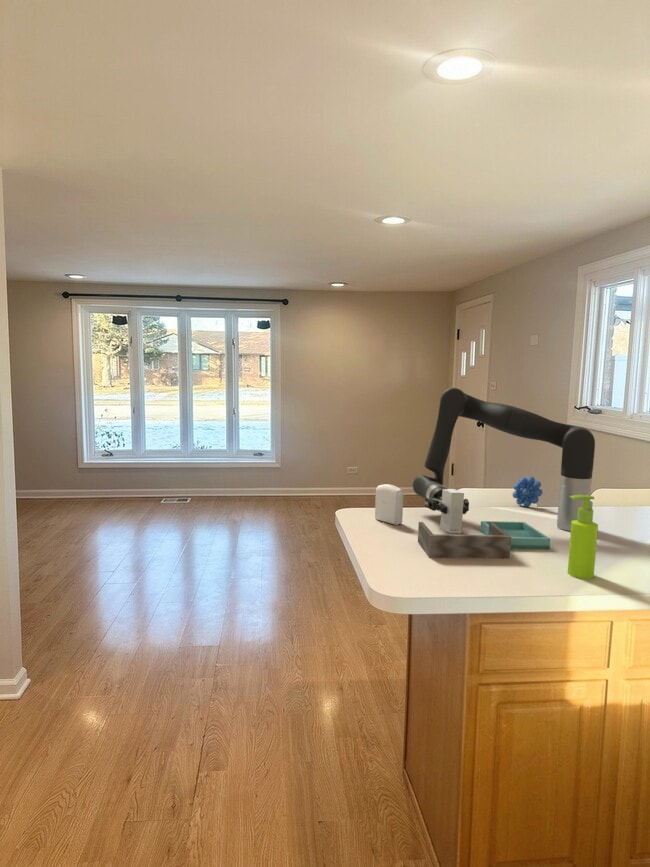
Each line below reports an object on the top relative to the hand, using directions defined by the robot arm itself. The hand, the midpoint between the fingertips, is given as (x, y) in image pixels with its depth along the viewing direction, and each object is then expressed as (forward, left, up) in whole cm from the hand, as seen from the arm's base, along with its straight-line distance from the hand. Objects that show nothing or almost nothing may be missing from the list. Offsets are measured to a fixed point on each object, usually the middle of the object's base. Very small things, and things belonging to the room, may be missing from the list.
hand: (455, 510), depth 157 cm
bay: (0, +8, -9) cm, 12 cm away
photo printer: (+16, -21, -9) cm, 28 cm away
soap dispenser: (-24, +27, -9) cm, 37 cm away
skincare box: (+1, -3, -7) cm, 7 cm away
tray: (-19, -3, -9) cm, 21 cm away
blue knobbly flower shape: (-42, -46, -9) cm, 63 cm away
